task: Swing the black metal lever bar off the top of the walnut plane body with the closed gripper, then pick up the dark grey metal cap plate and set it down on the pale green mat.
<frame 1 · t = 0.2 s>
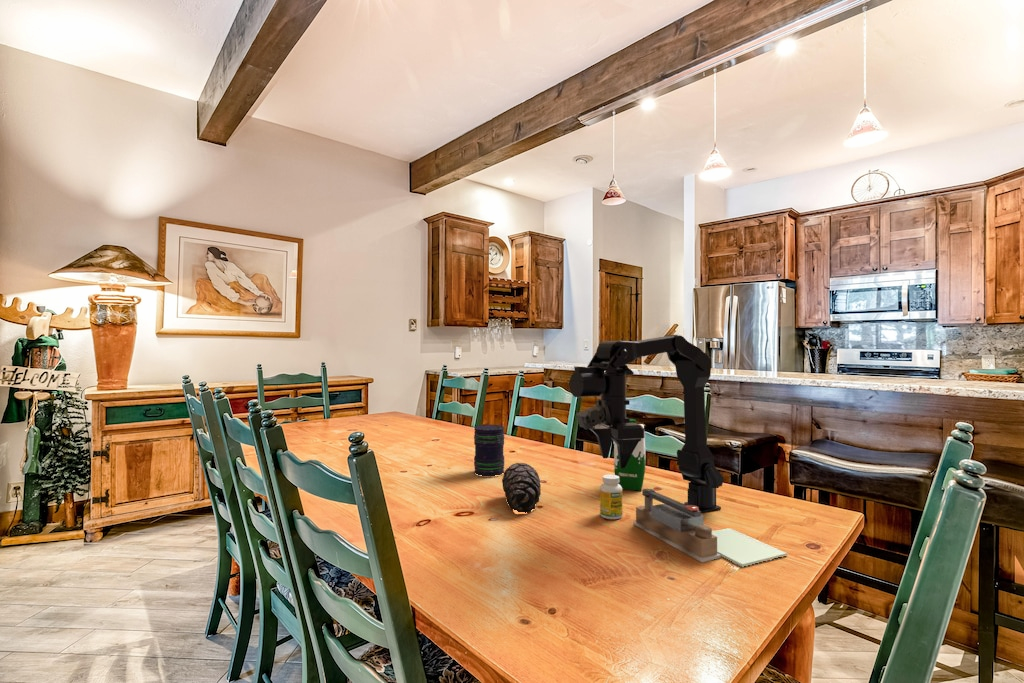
hand: (613, 462, 109), 14 cm above the table, tool pointing down, fingers open, 9 cm apart
plane body: (673, 539, 101), on the table
milk carton: (629, 487, 139), on the table
supplement bottle: (611, 516, 115), on the table
mat: (735, 547, 97), on the table
storage jar: (489, 473, 154), on the table
cap: (676, 522, 100), point 4 cm above the table, touching plane body
lever: (669, 500, 102), point 8 cm above the table, hinge at 0.0°
pine cone: (523, 505, 123), on the table
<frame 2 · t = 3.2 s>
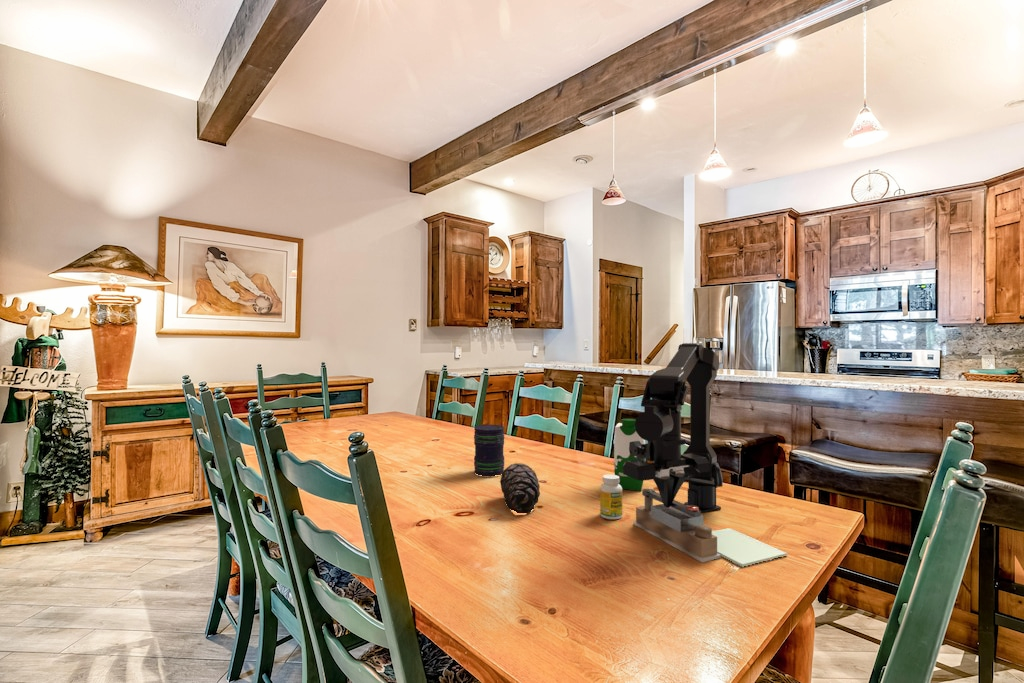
hand: (667, 506, 100), 7 cm above the table, tool pointing down, fingers closed
lever: (669, 500, 102), point 8 cm above the table, hinge at 0.0°, touching gripper
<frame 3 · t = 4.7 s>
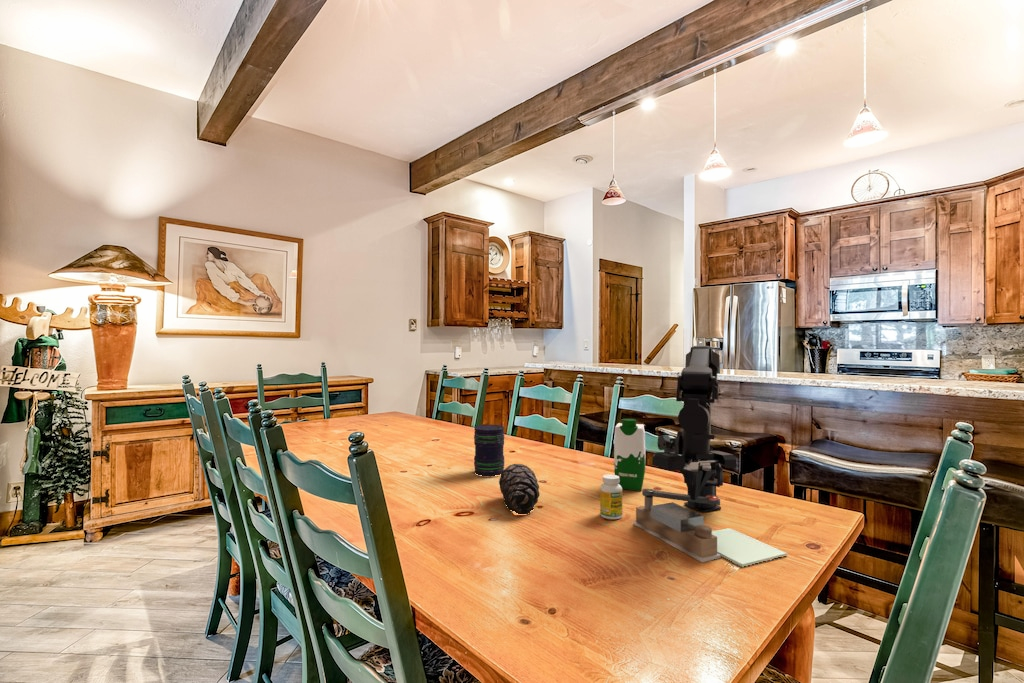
hand: (693, 500, 103), 8 cm above the table, tool pointing down, fingers closed
lever: (679, 495, 105), point 8 cm above the table, hinge at 41.2°, touching gripper
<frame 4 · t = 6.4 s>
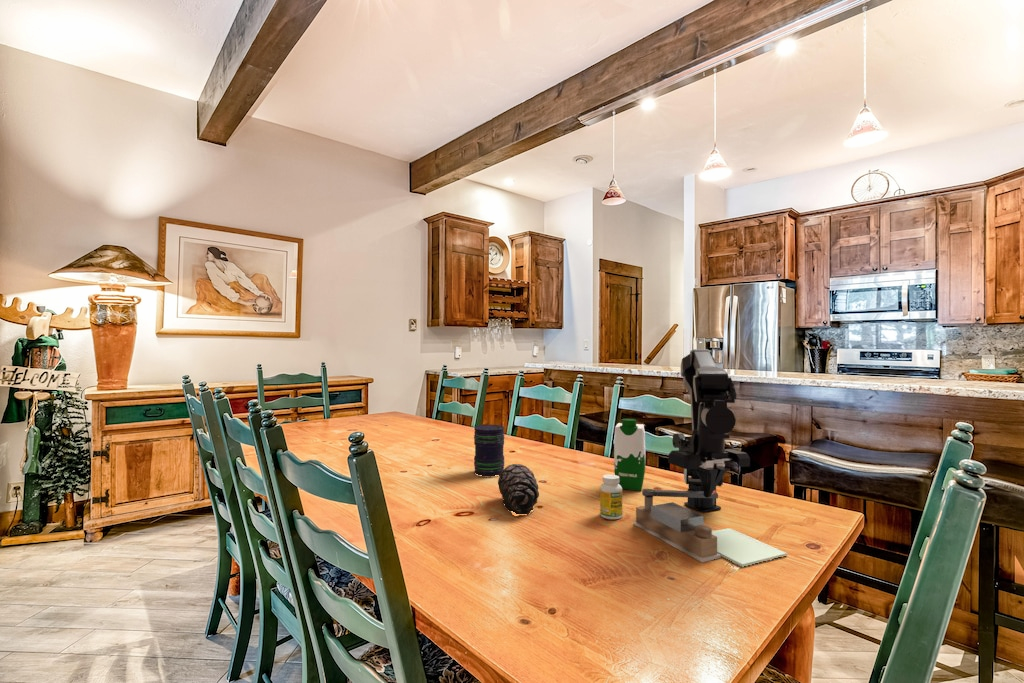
hand: (707, 497, 105), 8 cm above the table, tool pointing down, fingers closed
lever: (679, 492, 108), point 8 cm above the table, hinge at 60.4°, touching gripper
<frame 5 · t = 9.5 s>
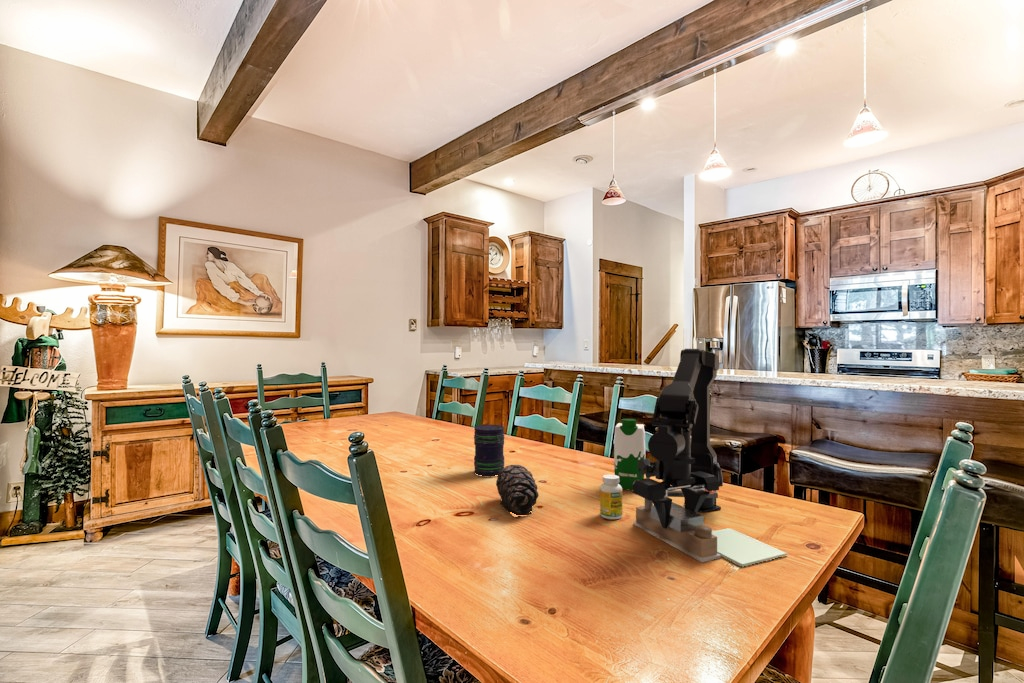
hand: (676, 525, 100), 3 cm above the table, tool pointing down, fingers closed on cap, 6 cm apart
cap: (676, 522, 100), point 4 cm above the table, touching gripper, plane body
lever: (679, 492, 108), point 8 cm above the table, hinge at 61.3°
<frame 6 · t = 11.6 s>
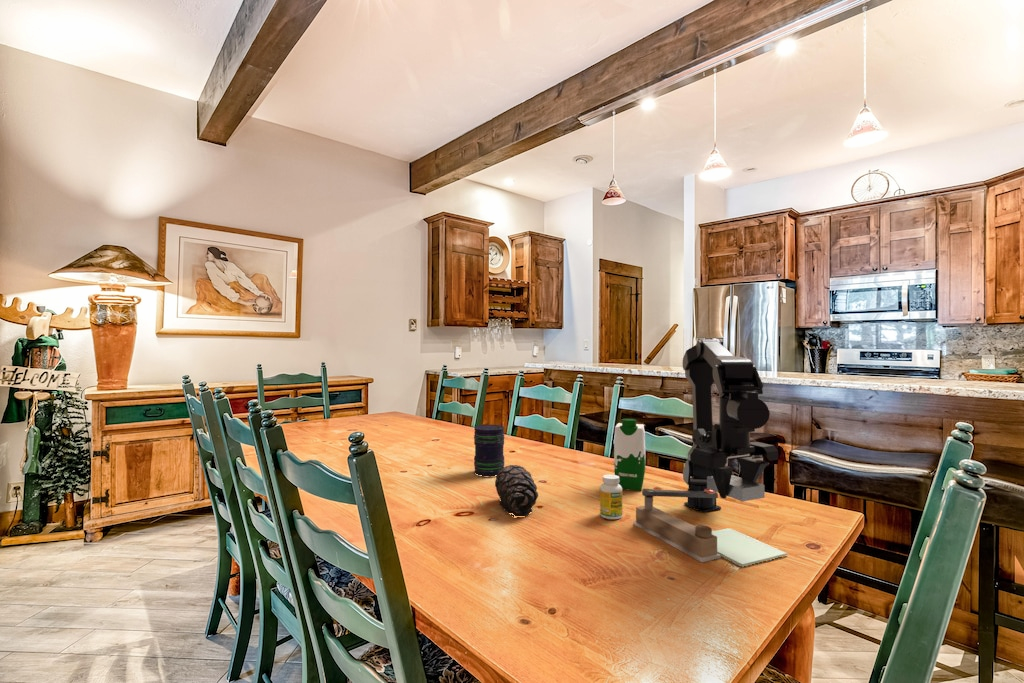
hand: (734, 496, 97), 10 cm above the table, tool pointing down, fingers closed on cap, 6 cm apart
cap: (734, 492, 97), point 11 cm above the table, touching gripper
when the fingers open (1 cm above the table, at t = 13.6 s): cap drops 2 cm, resting on mat.
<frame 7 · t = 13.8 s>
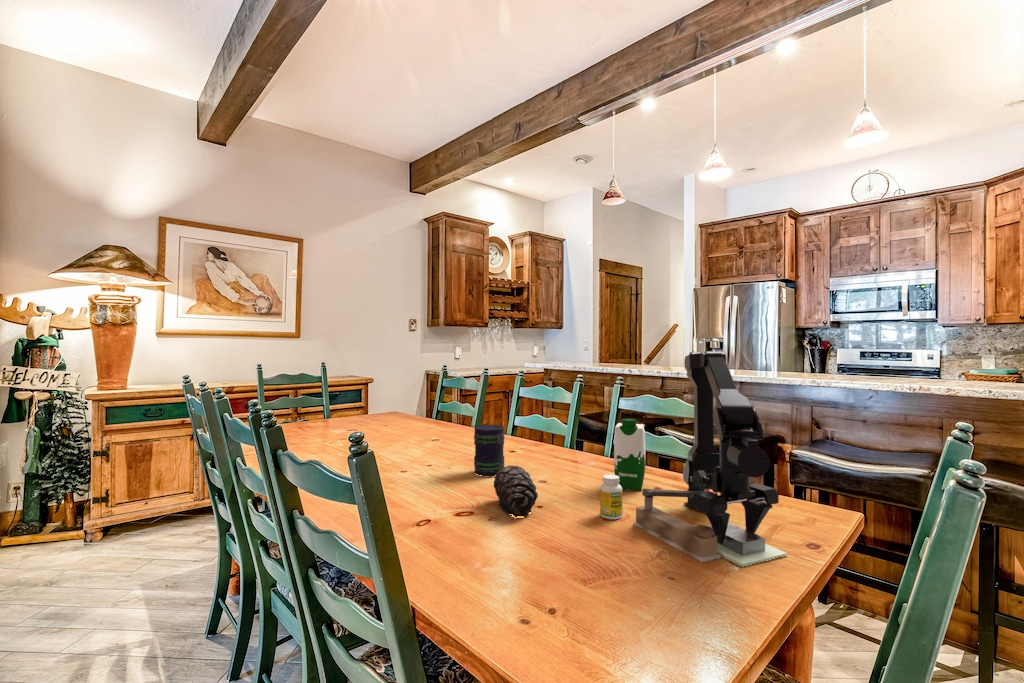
hand: (735, 540, 97), 1 cm above the table, tool pointing down, fingers open, 8 cm apart
cap: (735, 544, 97), point 1 cm above the table, touching mat
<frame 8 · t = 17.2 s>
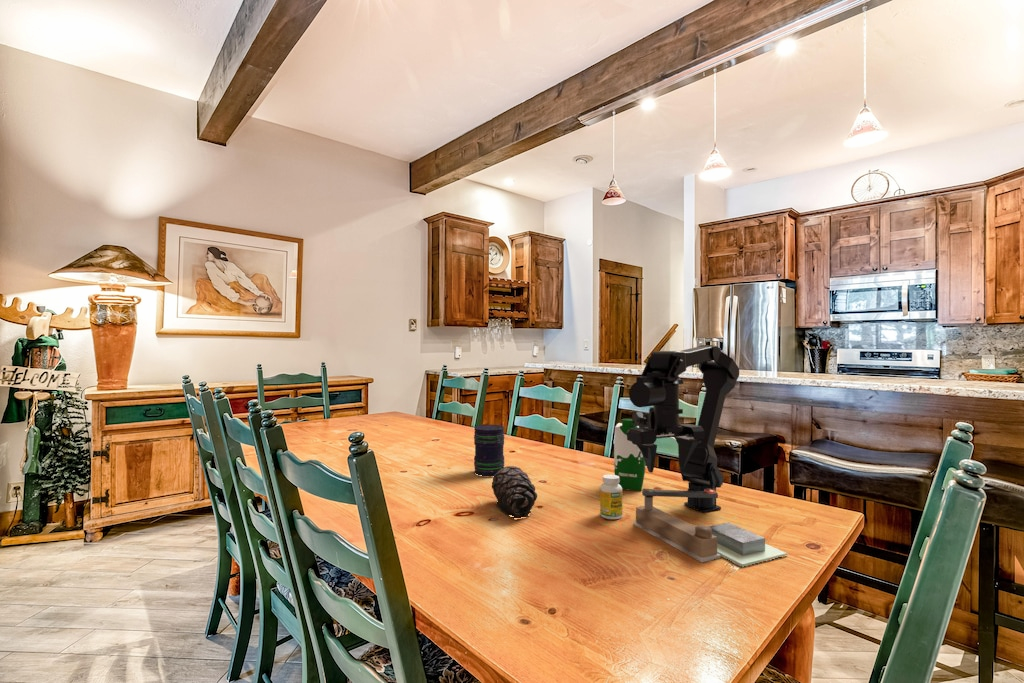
hand: (666, 470, 112), 12 cm above the table, tool pointing down, fingers open, 9 cm apart
at the end: lever at +61° (first picture: +0°); cap inside the target area on the mat (0.1 cm from its centre), point 0.6 cm above the mat's base; cap touching mat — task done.
